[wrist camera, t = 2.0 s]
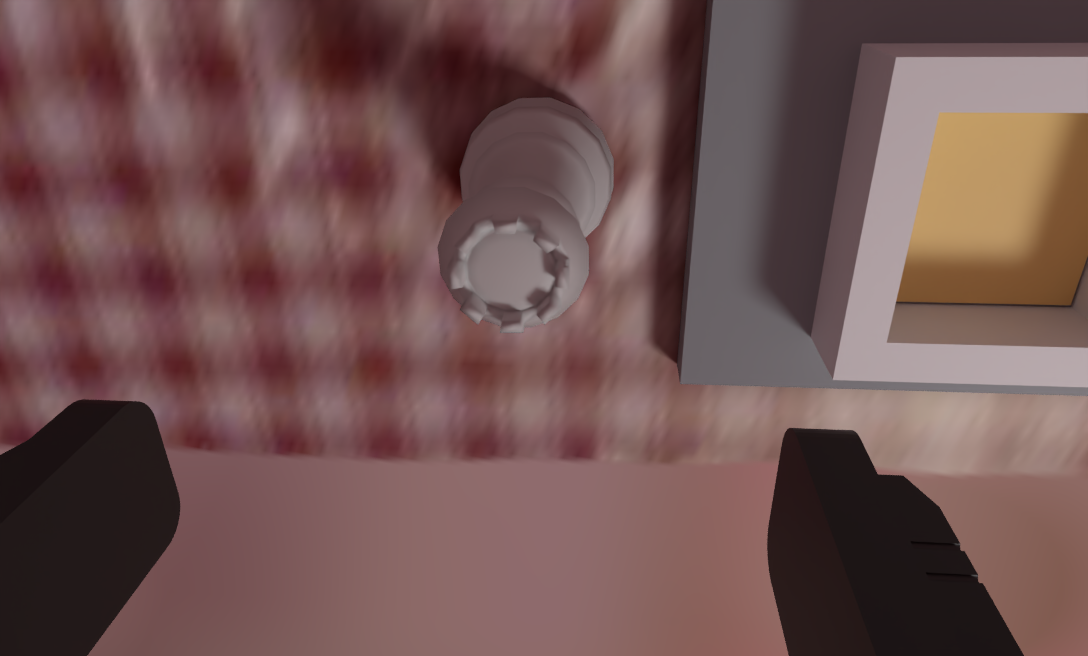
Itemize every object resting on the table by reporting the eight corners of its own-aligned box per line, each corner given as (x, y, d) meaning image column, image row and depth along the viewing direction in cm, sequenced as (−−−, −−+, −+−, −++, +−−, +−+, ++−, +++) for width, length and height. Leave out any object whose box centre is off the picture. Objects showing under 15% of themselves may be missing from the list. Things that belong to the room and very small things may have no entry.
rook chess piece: (474, 80, 21) (407, 151, 14) (629, 108, 21) (640, 192, 14) (457, 227, 23) (392, 353, 16) (598, 252, 23) (595, 389, 16)
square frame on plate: (676, 364, 25) (687, 429, 22) (710, -36, 19) (730, -31, 16) (1185, 378, 24) (1278, 449, 20) (1375, -43, 18) (1544, -39, 15)
